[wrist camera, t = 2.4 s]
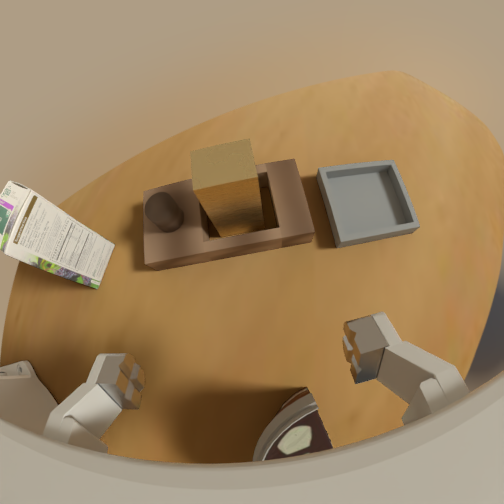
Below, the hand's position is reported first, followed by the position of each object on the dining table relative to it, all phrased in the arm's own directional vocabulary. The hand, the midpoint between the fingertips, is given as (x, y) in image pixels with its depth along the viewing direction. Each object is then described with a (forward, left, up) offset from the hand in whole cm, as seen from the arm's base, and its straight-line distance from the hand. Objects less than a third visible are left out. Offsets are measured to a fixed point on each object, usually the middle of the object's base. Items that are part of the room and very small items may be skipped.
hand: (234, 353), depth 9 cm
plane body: (-2, +12, -16) cm, 20 cm away
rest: (+13, +11, -16) cm, 24 cm away
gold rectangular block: (0, +12, -16) cm, 20 cm away
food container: (+1, -11, -16) cm, 19 cm away
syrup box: (-19, +11, -16) cm, 27 cm away
